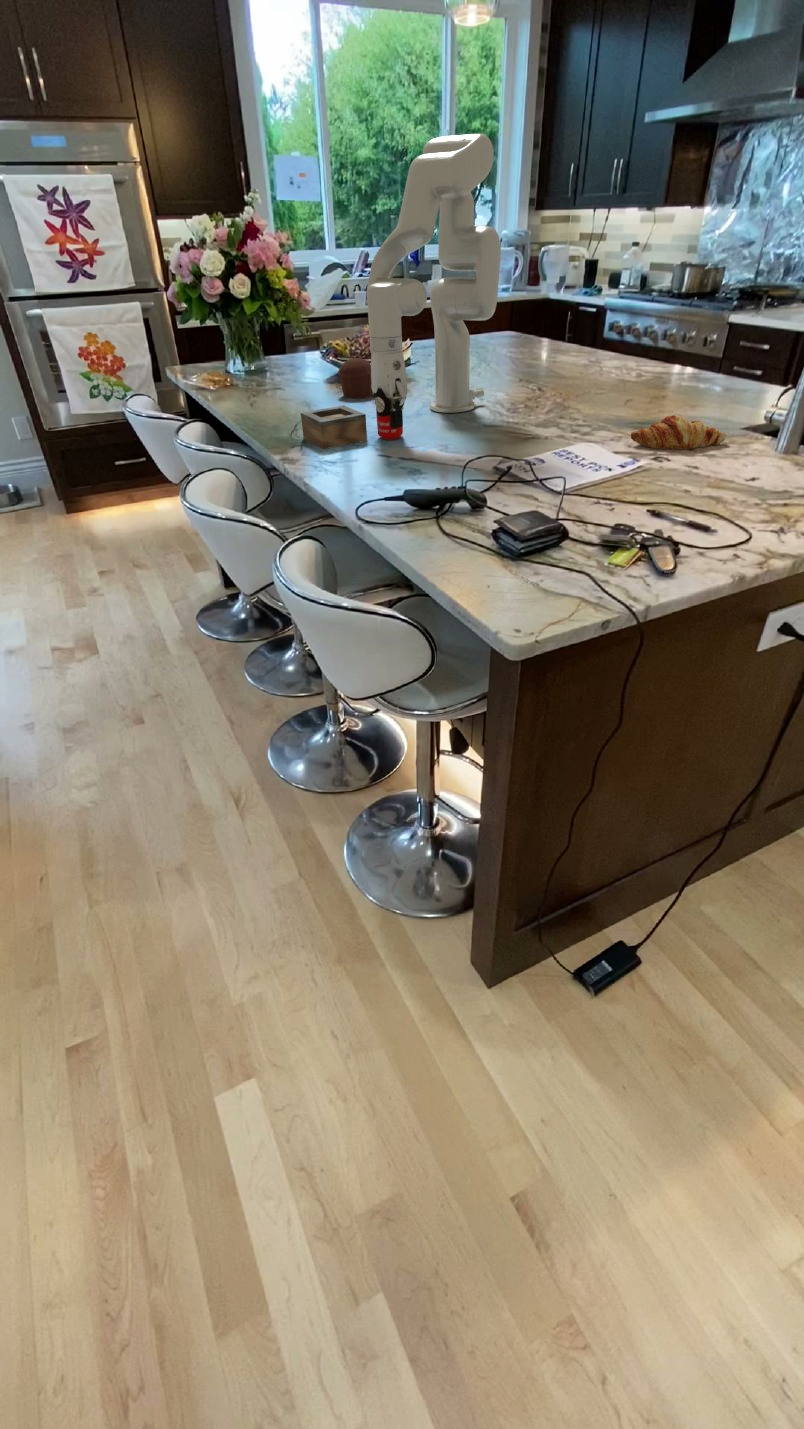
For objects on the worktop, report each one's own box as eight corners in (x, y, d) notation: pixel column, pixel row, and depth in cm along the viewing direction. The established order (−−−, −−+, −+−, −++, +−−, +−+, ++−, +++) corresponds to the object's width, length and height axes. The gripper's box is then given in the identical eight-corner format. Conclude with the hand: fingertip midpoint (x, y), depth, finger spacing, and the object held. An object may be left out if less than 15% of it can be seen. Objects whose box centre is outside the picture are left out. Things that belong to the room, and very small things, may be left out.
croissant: (716, 456, 170) (719, 421, 169) (733, 446, 161) (736, 409, 160) (625, 456, 172) (627, 421, 171) (636, 446, 162) (638, 409, 161)
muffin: (356, 389, 230) (353, 354, 224) (383, 393, 224) (382, 357, 218) (331, 397, 222) (328, 361, 216) (359, 400, 216) (357, 364, 211)
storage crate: (345, 430, 189) (343, 405, 185) (367, 440, 180) (365, 414, 176) (303, 438, 184) (300, 412, 180) (323, 449, 175) (320, 422, 172)
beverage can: (378, 434, 184) (375, 383, 177) (403, 433, 184) (401, 382, 177) (377, 441, 179) (374, 389, 172) (402, 440, 179) (400, 388, 172)
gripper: (418, 347, 165) (420, 429, 175) (382, 338, 177) (386, 415, 188) (390, 351, 162) (393, 434, 172) (354, 341, 174) (360, 420, 185)
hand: (389, 423), depth 180 cm, fingers closed on beverage can, 6 cm apart
